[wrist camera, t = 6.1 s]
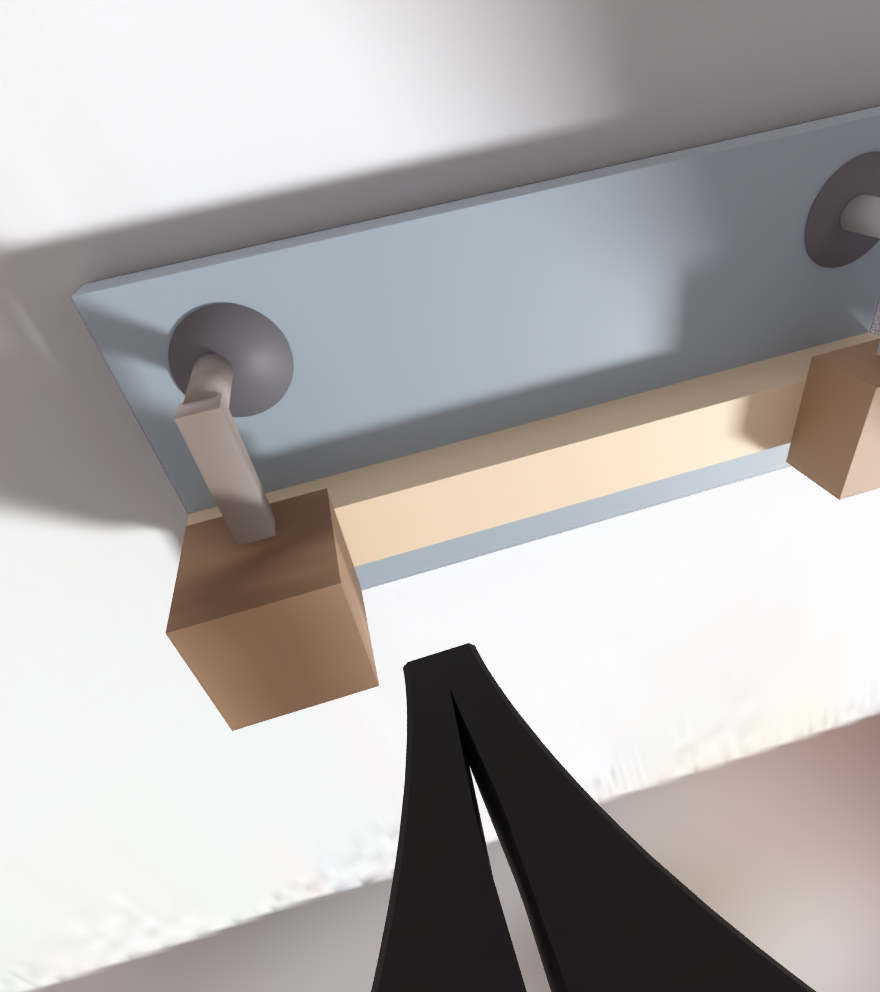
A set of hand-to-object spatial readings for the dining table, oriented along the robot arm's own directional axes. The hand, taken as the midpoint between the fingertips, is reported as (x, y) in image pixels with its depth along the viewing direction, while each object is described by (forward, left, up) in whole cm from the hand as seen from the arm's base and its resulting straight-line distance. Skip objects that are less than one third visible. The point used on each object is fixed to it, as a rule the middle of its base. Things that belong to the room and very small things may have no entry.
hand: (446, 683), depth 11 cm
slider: (+4, -1, -9) cm, 9 cm away
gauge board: (-6, -1, -10) cm, 12 cm away
